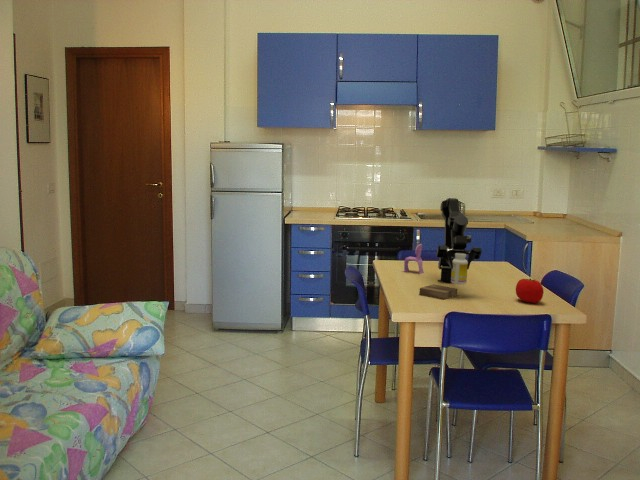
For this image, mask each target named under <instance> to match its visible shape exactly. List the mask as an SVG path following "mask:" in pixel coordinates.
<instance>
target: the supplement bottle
mask: <svg viewBox="0 0 640 480" xmlns="http://www.w3.org/2000/svg"><path fill="white" fill-rule="evenodd" d="M466 258H467V255H466V254H464V253H455V259H453V261H452V266H453V267H452V272H451V282H452V284H456V285H465V284H467V280H468V279H467V278H468V269H467V268H468V261H467V259H466Z"/></svg>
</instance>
